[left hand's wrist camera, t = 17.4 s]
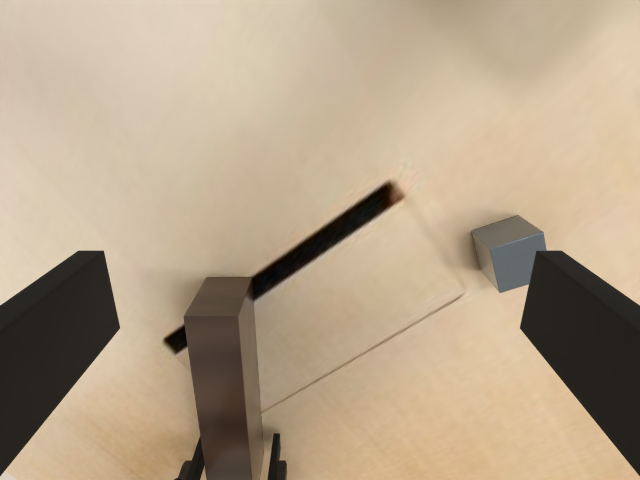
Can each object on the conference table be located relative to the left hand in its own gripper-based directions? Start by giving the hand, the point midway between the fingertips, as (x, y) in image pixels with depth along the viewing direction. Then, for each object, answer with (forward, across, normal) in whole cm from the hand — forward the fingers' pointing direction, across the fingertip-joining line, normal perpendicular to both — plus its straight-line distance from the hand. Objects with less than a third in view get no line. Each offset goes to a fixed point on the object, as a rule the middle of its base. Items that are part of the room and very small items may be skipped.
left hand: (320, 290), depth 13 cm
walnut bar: (+29, -10, -27) cm, 41 cm away
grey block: (+29, +19, -10) cm, 36 cm away
